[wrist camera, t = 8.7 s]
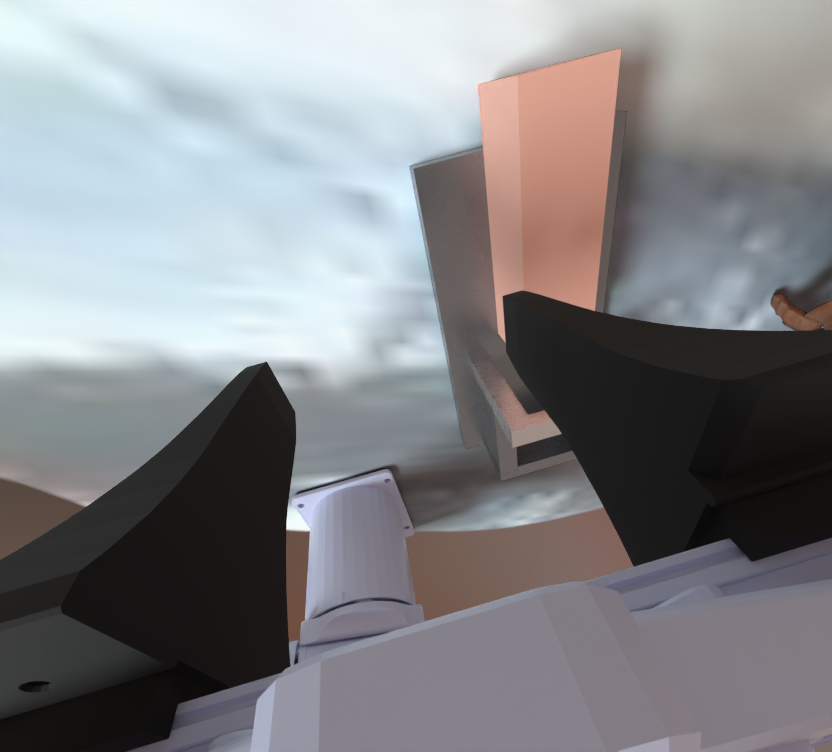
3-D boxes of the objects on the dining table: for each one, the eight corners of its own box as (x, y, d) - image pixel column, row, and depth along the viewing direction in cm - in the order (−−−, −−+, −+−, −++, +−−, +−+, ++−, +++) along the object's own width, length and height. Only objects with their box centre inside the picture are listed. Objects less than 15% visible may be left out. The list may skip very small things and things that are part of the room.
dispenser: (584, 404, 29) (647, 477, 23) (462, 439, 28) (495, 522, 23) (613, 111, 17) (754, 108, 11) (409, 166, 17) (448, 191, 11)
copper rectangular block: (553, 317, 22) (590, 351, 19) (498, 333, 22) (526, 370, 19) (559, 62, 15) (621, 47, 12) (477, 84, 15) (517, 75, 12)
